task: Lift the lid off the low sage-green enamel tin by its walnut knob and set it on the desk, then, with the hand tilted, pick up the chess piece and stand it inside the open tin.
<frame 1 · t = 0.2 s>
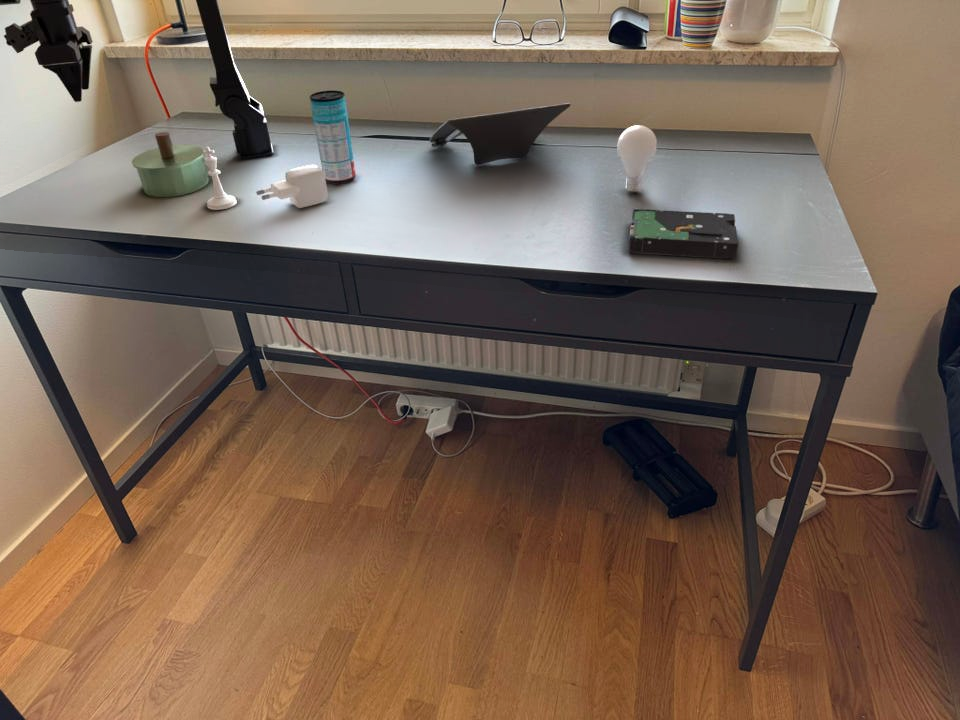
hand: (82, 95, 132), 15 cm above the table, tool pointing down, fingers open, 9 cm apart
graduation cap: (492, 154, 140), on the table
lightbulb: (633, 192, 122), on the table
chess piece: (222, 205, 125), on the table
power adapter: (295, 207, 122), on the table
tin lid: (169, 158, 130), point 5 cm above the table, touching tin
tin: (176, 185, 133), on the table
beverage can: (340, 180, 132), on the table
disk drive: (680, 243, 105), on the table
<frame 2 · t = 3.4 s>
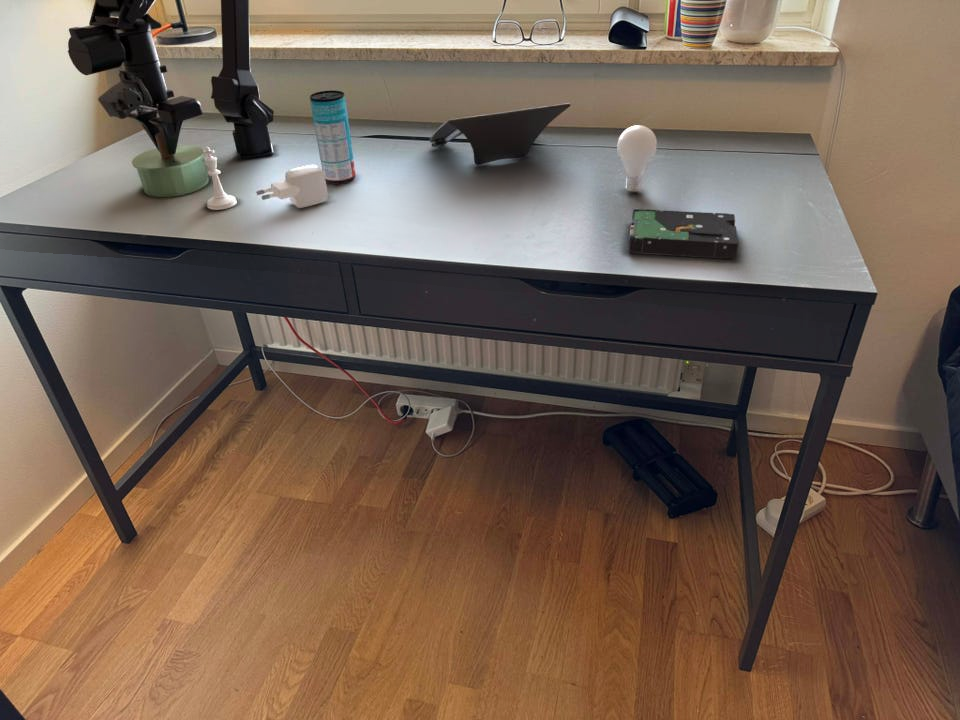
hand: (167, 153, 130), 6 cm above the table, tool pointing down, fingers closed on tin lid, 2 cm apart
tin lid: (169, 158, 130), point 5 cm above the table, touching gripper, tin
everything else where it was.
when the fingers open (2 cm above the table, at t = 8.4 s): tin lid stays where it is, point 1 cm above the table.
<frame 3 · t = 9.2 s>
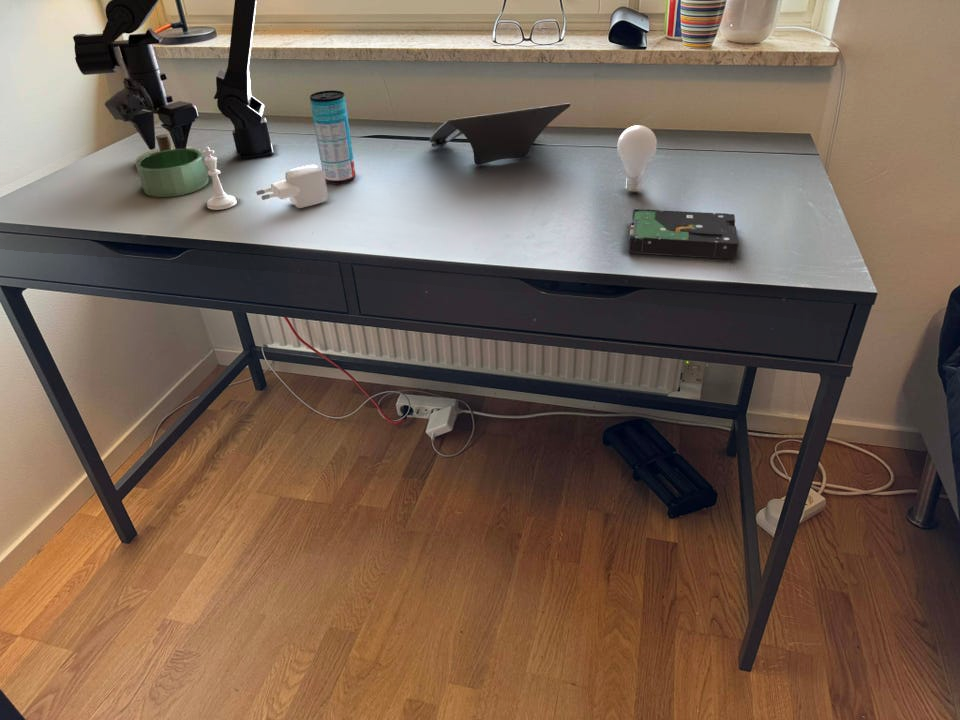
hand: (167, 152, 143), 2 cm above the table, tool pointing down, fingers open, 9 cm apart
tin lid: (168, 158, 144), point 1 cm above the table
everything else where it was.
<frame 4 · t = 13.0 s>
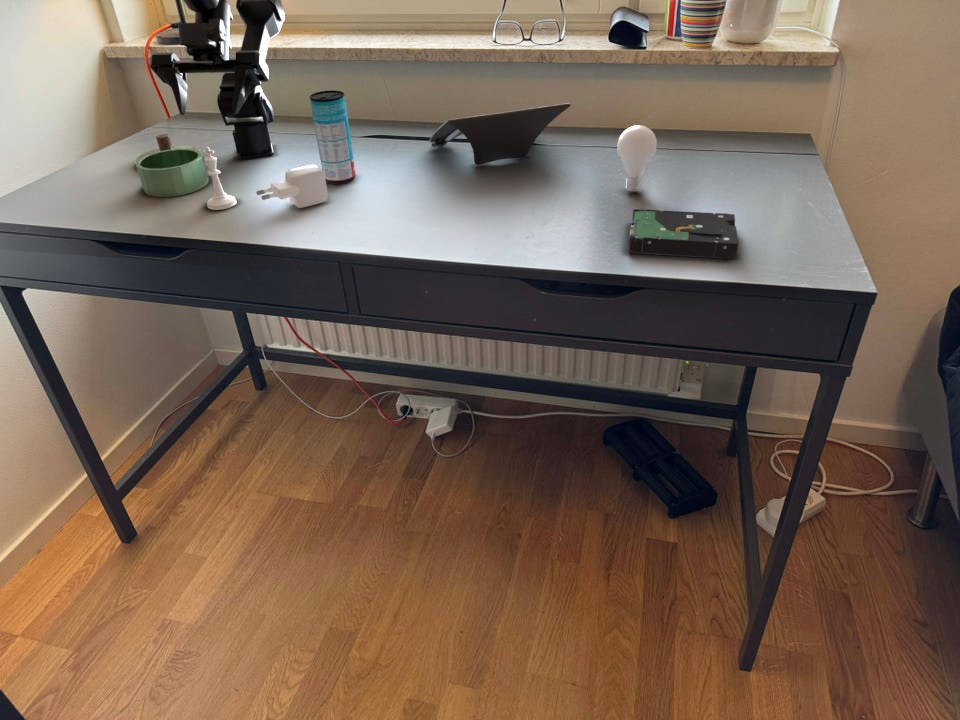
hand: (208, 113, 123), 13 cm above the table, tool tilted 45°, fingers open, 9 cm apart
nothing on the table moved.
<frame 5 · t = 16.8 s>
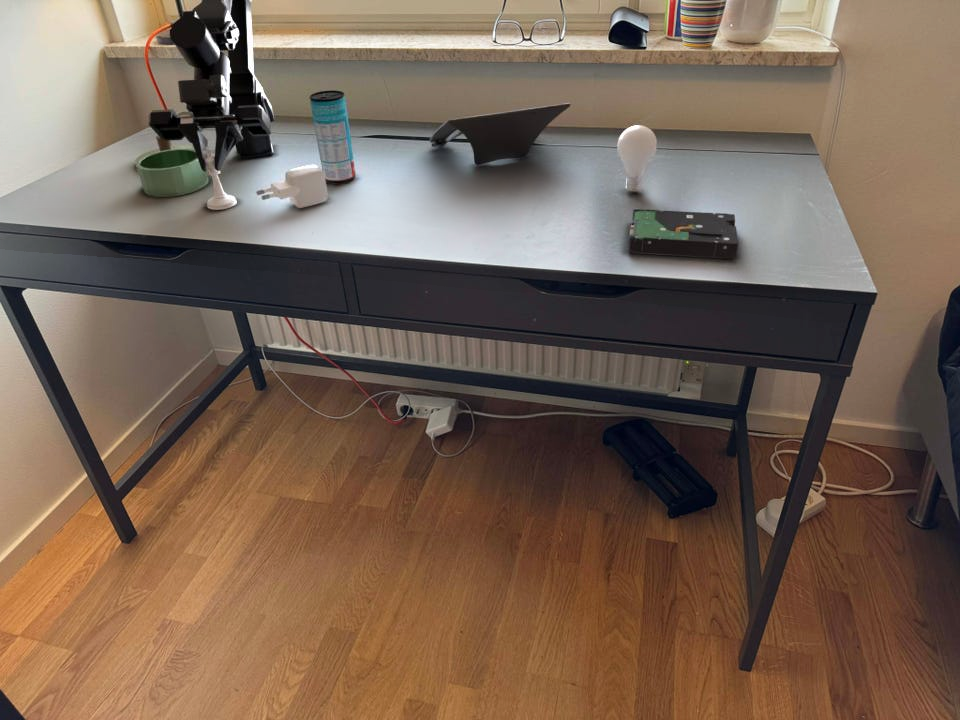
hand: (210, 170, 120), 7 cm above the table, tool tilted 45°, fingers closed on chess piece
chess piece: (222, 205, 125), on the table, touching gripper
everything else where it was.
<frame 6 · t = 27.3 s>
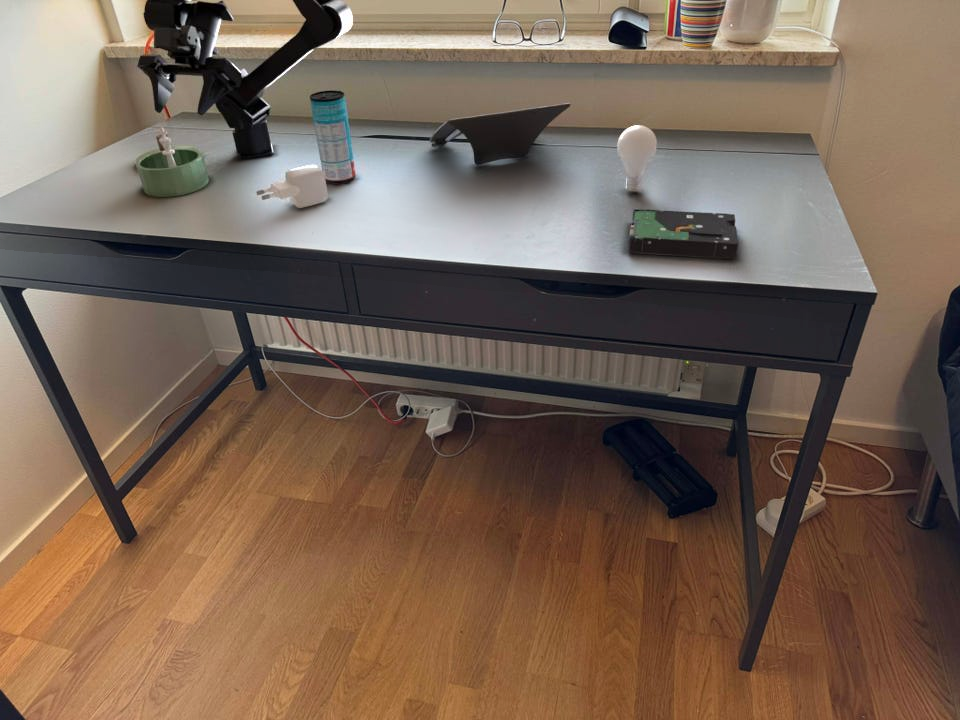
hand: (178, 113, 131), 12 cm above the table, tool tilted 45°, fingers open, 9 cm apart
chess piece: (177, 183, 133), resting on tin
everything else where it was.
at the end: tin lid inside the target area (0.1 cm from its centre), point 0.6 cm above the table; chess piece inside the target area in the tin (0.2 cm from its centre), point 0.3 cm above the tin's base; chess piece tilted 0° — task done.
